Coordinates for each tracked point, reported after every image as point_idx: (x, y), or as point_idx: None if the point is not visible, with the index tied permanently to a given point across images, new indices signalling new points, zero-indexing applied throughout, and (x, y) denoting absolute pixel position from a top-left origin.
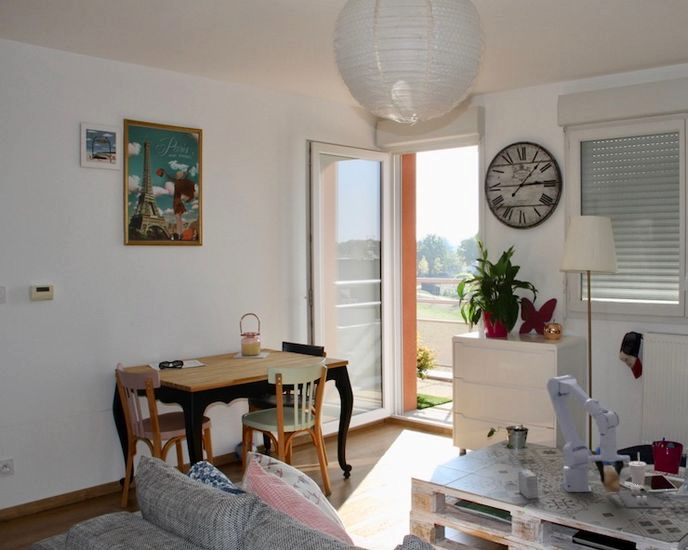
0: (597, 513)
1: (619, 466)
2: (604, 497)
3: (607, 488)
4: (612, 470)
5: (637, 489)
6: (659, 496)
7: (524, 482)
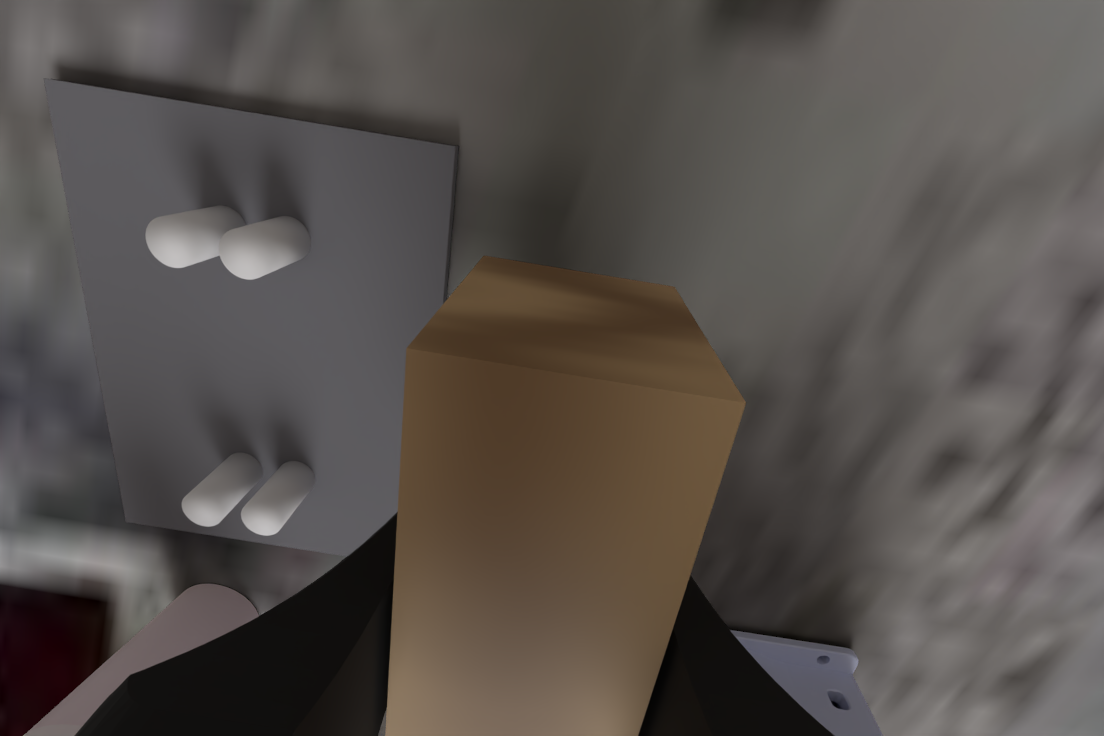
0: (884, 21)
1: (251, 692)
2: None
3: (677, 303)
4: (451, 688)
5: (219, 491)
6: (60, 421)
7: None
